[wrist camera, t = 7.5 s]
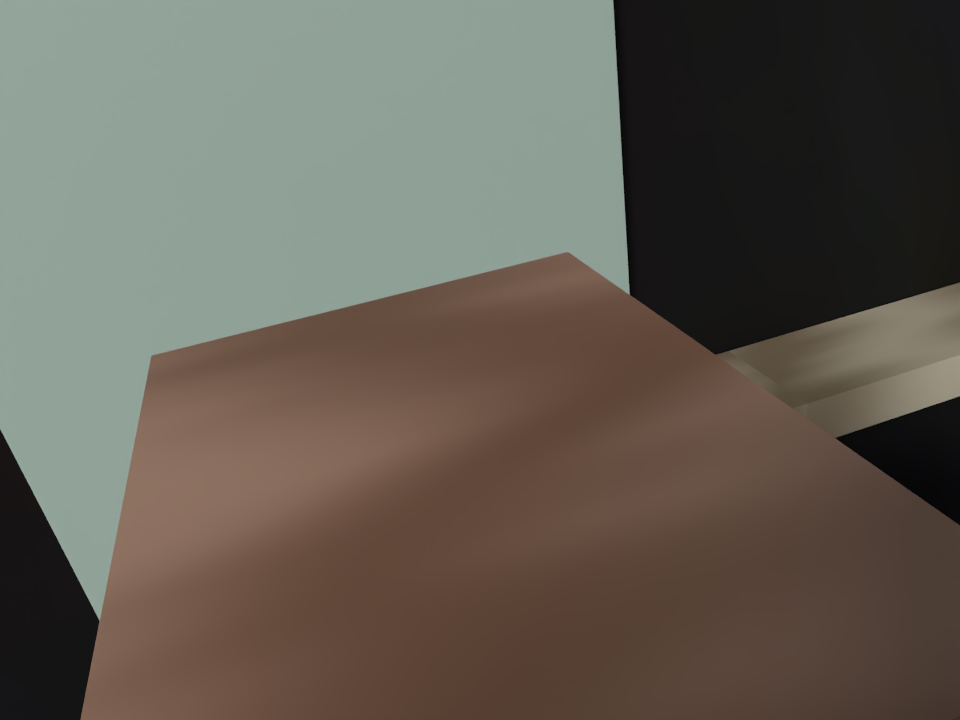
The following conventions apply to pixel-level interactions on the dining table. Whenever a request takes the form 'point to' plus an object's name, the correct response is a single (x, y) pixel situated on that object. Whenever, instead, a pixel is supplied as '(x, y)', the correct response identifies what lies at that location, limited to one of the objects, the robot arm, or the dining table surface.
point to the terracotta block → (509, 528)
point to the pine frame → (863, 363)
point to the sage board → (267, 190)
